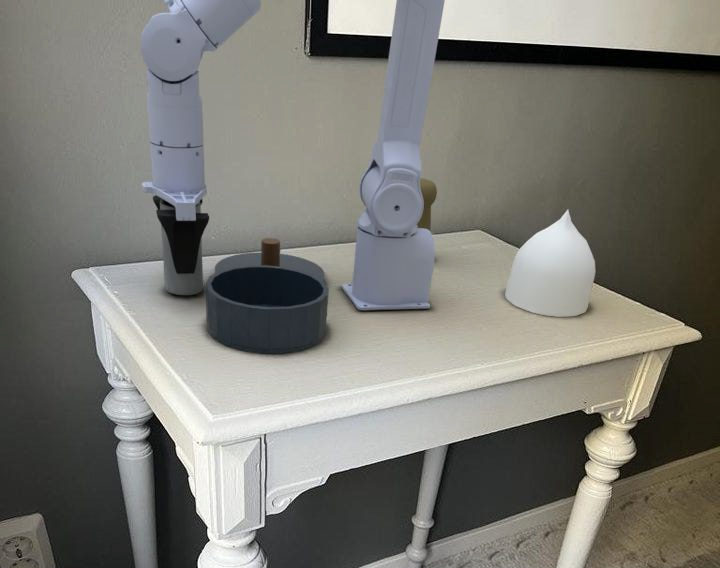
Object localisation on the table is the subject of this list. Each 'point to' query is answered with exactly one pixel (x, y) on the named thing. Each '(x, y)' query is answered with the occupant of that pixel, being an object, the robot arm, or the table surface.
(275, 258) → the pan lid
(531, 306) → the teardrop
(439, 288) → the table surface
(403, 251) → the robot arm
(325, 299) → the pan
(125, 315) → the table surface
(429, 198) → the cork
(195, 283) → the gray hollow cylinder
